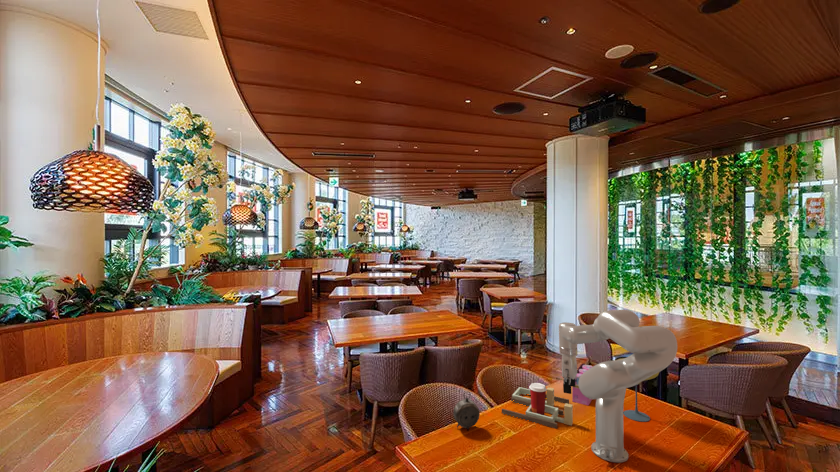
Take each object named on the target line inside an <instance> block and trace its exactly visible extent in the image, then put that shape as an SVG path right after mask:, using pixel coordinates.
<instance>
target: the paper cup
mask: <svg viewBox="0 0 840 472" xmlns="http://www.w3.org/2000/svg"><path fill="white" fill-rule="evenodd" d="M528 389H530V394H531V396H530V399H531V410H532V412H533V413H537V414H541V415H544V416H545V413H546V412H545V401H546V399H545V398H546V390H547V388H546V385H545V384H543V383H540V382H531V384H529V387H528Z"/></svg>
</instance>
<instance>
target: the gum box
mask: <svg viewBox="0 0 840 472" xmlns="http://www.w3.org/2000/svg"><path fill="white" fill-rule="evenodd" d="M593 366H594V365H593ZM593 366H592V365H589V364H586V363H581V364H580V365H579V367H577V375H576V377H575V387H572V386H571V394H572V402H573V403H577V404H581V405H583V406H584V405H585V406H589V405H590V404H591V402H592V400H593V399H589V398H587V397H585V396H584V395H583V394H582V393H581V391H580V389H579V384H578V383H579V378H580V376H581V375H582V374H583V373H584V372H586V371H587V370H589V369H590V368H592V367H593Z"/></svg>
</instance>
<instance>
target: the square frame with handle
mask: <svg viewBox="0 0 840 472" xmlns="http://www.w3.org/2000/svg"><path fill="white" fill-rule="evenodd" d="M546 389H547V390H546V398H547V399H546V400H545V405H548V406H552V407H555V406H554V405H555V401H554V396H555V388H554V387H547V388H546ZM526 394H529V395H531V394H530V388H525V387H522V386H521V387H520V386H519V387H518V388H517V389H516V390H515V391H514V392H513V393H512V395H511V398H515V399H519V400H523V401H527V402H531V397H526V396H527V395H526ZM521 395H525V397H524V396H521Z"/></svg>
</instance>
